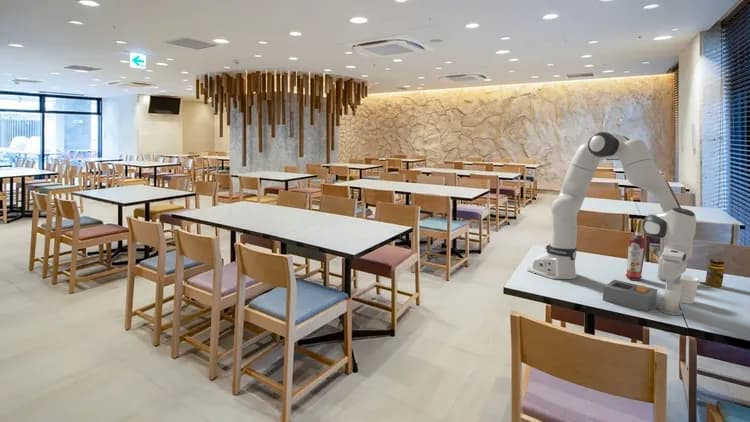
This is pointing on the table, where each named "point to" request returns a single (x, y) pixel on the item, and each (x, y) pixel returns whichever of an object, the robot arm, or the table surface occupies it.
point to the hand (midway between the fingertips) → (672, 286)
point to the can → (660, 268)
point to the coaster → (670, 312)
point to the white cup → (688, 289)
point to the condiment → (714, 274)
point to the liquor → (636, 253)
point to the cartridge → (672, 297)
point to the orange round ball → (642, 288)
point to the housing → (629, 295)
